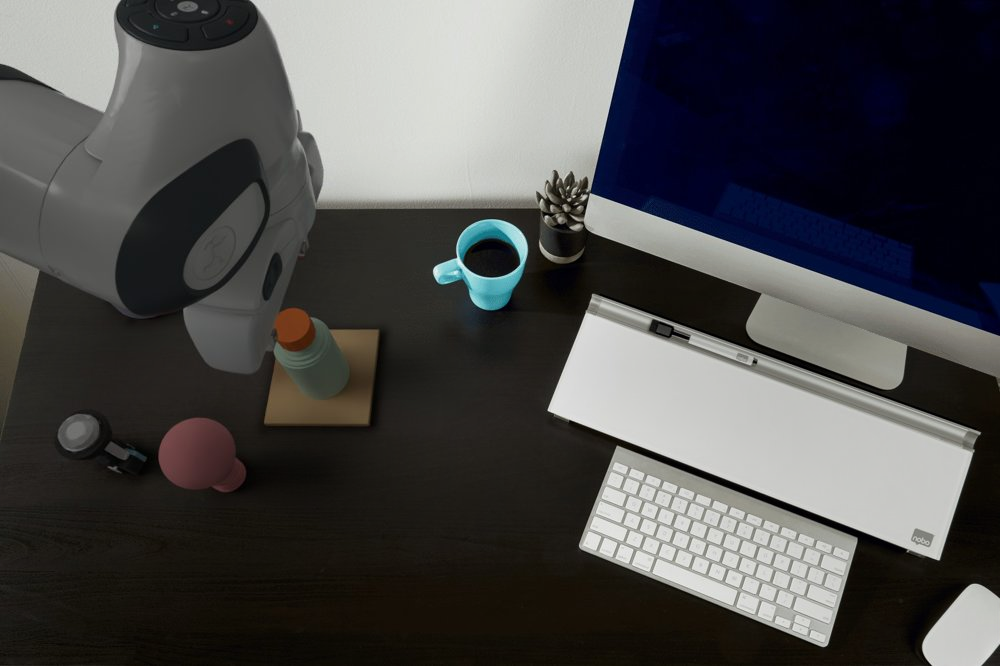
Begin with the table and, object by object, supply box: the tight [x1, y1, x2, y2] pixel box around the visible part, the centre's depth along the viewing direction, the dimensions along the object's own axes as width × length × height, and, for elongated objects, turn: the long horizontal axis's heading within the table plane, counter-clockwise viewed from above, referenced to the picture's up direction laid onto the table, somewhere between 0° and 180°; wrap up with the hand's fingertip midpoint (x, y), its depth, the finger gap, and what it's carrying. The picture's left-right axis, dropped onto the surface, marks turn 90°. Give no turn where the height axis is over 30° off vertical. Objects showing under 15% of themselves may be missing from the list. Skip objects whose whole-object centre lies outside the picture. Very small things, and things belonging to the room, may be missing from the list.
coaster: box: [263, 329, 381, 427], centre depth 85 cm, size 12×12×1 cm
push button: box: [54, 408, 148, 476], centre depth 78 cm, size 7×5×10 cm
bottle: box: [273, 316, 350, 399], centre depth 79 cm, size 6×6×12 cm
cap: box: [274, 307, 316, 352], centre depth 75 cm, size 4×4×2 cm
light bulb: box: [158, 417, 247, 493], centre depth 75 cm, size 7×7×12 cm
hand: (282, 296), depth 64 cm, fingers open, 8 cm apart
